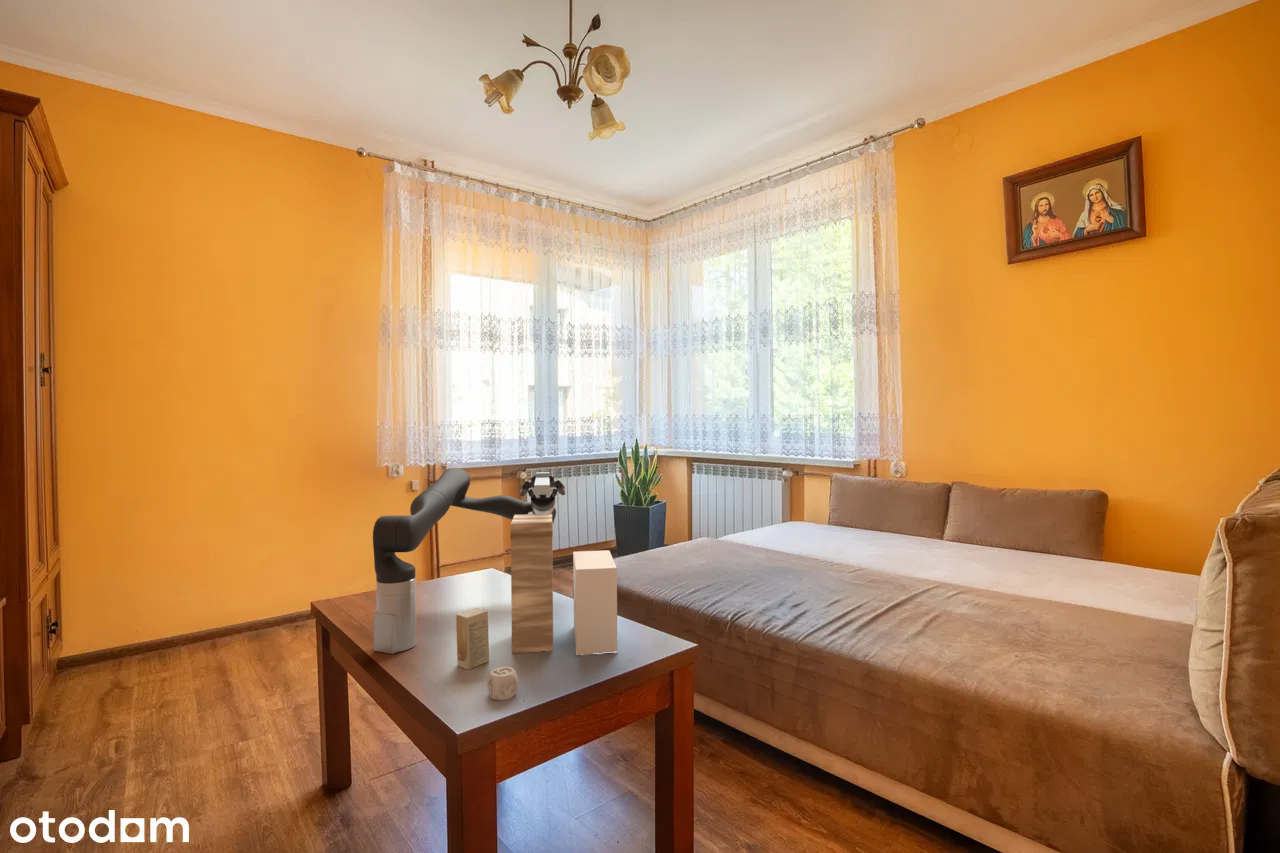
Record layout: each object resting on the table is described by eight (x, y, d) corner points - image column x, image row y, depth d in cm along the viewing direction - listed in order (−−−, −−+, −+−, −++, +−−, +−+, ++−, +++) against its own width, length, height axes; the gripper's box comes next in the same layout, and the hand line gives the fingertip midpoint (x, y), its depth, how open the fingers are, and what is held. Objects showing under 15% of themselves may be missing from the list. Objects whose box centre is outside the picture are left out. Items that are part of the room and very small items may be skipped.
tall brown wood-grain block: (553, 651, 147) (552, 522, 147) (511, 653, 146) (510, 523, 146) (553, 631, 161) (552, 513, 161) (515, 633, 160) (514, 514, 160)
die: (486, 694, 124) (486, 670, 124) (509, 687, 127) (509, 664, 127) (495, 703, 120) (495, 678, 120) (518, 696, 123) (518, 672, 123)
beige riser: (617, 653, 146) (616, 567, 146) (576, 655, 144) (575, 569, 144) (609, 625, 165) (609, 550, 165) (573, 627, 164) (573, 551, 164)
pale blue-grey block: (549, 494, 156) (549, 480, 156) (534, 494, 156) (534, 480, 156) (549, 484, 180) (549, 472, 180) (536, 484, 179) (535, 472, 179)
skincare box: (478, 657, 144) (478, 606, 144) (489, 661, 141) (489, 610, 141) (455, 665, 139) (455, 613, 139) (466, 670, 136) (466, 617, 136)
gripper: (566, 511, 186) (567, 489, 171) (519, 512, 183) (517, 490, 169) (565, 489, 189) (566, 465, 174) (520, 490, 187) (517, 466, 172)
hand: (542, 478), depth 172 cm, fingers closed on pale blue-grey block, 4 cm apart
